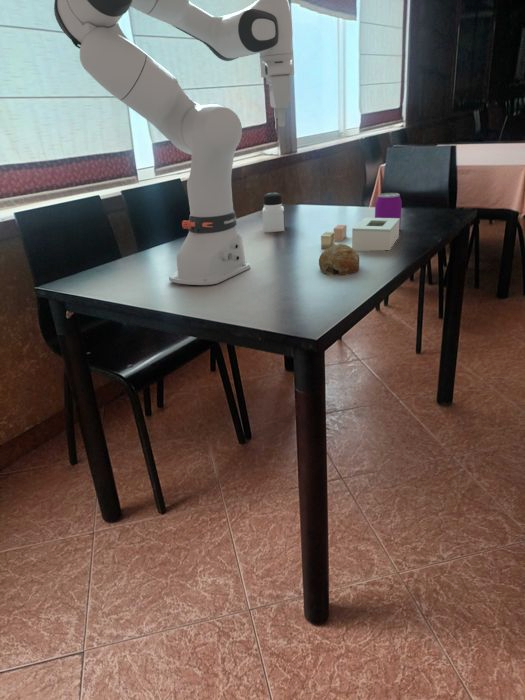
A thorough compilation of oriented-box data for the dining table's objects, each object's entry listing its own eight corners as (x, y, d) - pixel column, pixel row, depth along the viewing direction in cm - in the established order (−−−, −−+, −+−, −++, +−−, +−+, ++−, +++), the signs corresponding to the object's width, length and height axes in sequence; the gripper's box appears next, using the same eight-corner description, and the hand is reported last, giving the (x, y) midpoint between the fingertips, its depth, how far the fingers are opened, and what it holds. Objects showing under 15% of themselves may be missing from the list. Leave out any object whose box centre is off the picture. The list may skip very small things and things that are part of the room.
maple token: (329, 252, 138) (329, 236, 136) (321, 251, 139) (321, 235, 137) (334, 247, 142) (334, 231, 141) (326, 247, 143) (326, 231, 142)
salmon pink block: (341, 244, 145) (341, 228, 143) (333, 243, 146) (333, 228, 144) (346, 239, 149) (346, 225, 147) (338, 239, 150) (338, 224, 148)
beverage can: (399, 231, 154) (401, 191, 149) (400, 237, 147) (403, 196, 142) (373, 232, 155) (375, 193, 150) (374, 238, 149) (375, 197, 143)
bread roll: (317, 286, 121) (312, 264, 115) (325, 256, 127) (321, 233, 120) (357, 289, 118) (354, 265, 112) (364, 257, 123) (361, 234, 117)
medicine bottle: (284, 231, 165) (283, 194, 160) (263, 232, 165) (261, 195, 160) (284, 226, 171) (282, 191, 166) (264, 228, 172) (261, 192, 166)
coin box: (389, 255, 131) (390, 229, 128) (352, 254, 135) (352, 228, 131) (398, 242, 142) (399, 218, 139) (364, 241, 146) (364, 217, 143)
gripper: (263, 71, 140) (266, 125, 146) (267, 67, 122) (271, 128, 128) (285, 69, 140) (287, 123, 146) (293, 65, 122) (295, 126, 128)
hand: (280, 125), depth 137 cm, fingers open, 8 cm apart
